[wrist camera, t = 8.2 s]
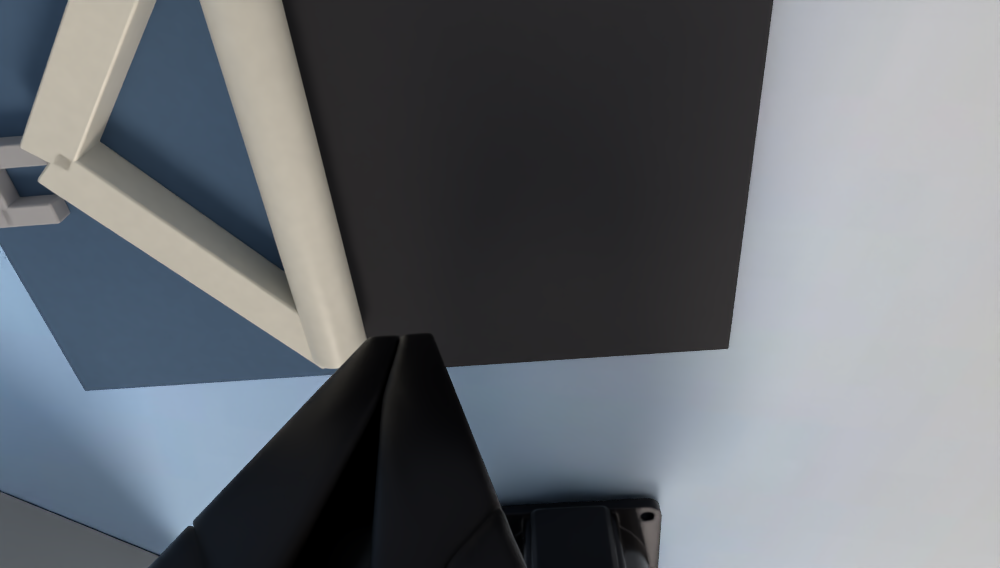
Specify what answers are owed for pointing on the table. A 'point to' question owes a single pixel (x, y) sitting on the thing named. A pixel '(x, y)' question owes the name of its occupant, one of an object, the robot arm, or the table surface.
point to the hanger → (167, 218)
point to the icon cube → (59, 541)
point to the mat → (425, 180)
